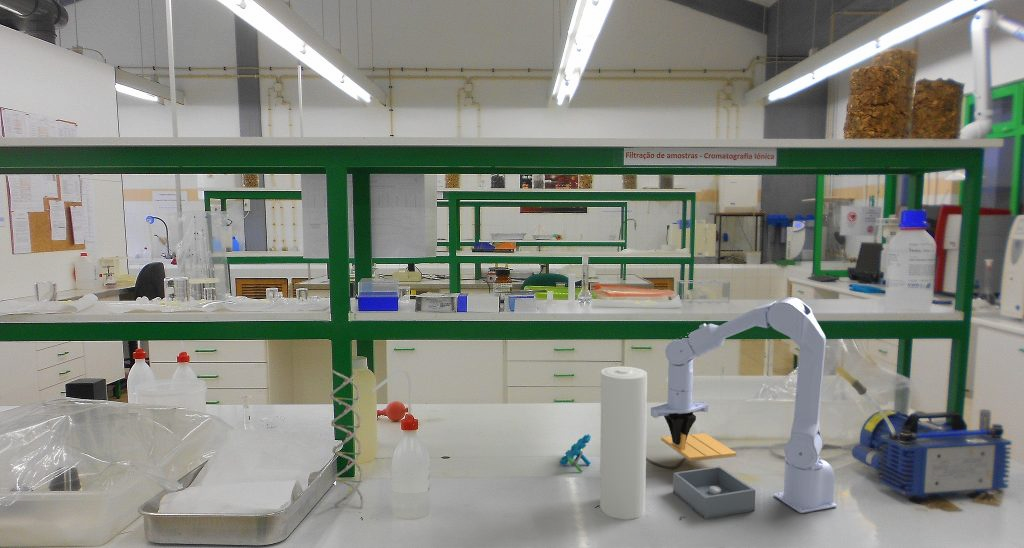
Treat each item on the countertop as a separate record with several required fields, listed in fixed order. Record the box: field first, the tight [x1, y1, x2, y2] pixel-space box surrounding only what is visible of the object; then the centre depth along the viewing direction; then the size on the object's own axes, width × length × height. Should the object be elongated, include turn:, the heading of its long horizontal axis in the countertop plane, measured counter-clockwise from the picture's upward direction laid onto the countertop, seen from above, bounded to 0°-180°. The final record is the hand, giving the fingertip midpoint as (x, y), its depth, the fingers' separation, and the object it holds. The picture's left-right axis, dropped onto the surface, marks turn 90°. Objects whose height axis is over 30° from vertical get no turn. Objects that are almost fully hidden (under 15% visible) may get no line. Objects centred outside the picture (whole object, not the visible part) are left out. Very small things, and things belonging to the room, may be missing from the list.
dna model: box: [329, 369, 364, 509], centre depth 121 cm, size 7×6×30 cm
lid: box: [660, 432, 737, 462], centre depth 139 cm, size 13×13×5 cm
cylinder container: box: [599, 365, 648, 520], centre depth 120 cm, size 9×9×30 cm
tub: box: [672, 465, 756, 520], centre depth 123 cm, size 12×12×4 cm
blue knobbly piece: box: [559, 433, 592, 473], centre depth 142 cm, size 11×6×10 cm
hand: (678, 442), depth 138 cm, fingers closed on lid
